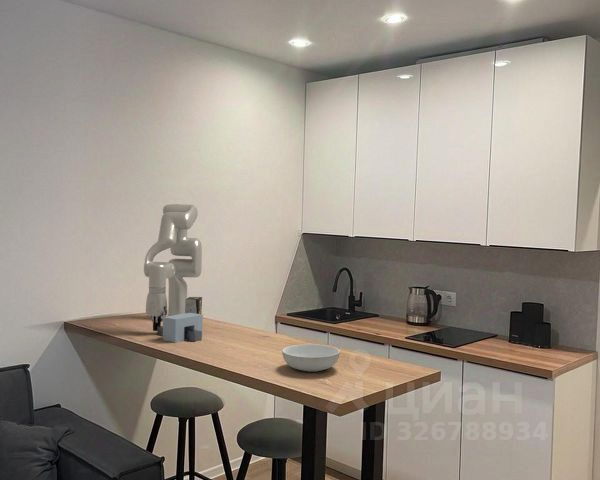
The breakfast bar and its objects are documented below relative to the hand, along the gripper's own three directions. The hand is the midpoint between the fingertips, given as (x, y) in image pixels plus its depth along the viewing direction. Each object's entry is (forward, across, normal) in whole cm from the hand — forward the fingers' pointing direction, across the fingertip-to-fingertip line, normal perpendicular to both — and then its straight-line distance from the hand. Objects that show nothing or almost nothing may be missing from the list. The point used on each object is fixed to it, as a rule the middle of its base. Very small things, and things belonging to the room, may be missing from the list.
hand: (156, 330), depth 269 cm
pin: (+1, +14, +1) cm, 14 cm away
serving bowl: (+2, +89, -4) cm, 89 cm away
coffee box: (+2, +11, +13) cm, 17 cm away
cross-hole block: (+1, +17, 0) cm, 17 cm away
